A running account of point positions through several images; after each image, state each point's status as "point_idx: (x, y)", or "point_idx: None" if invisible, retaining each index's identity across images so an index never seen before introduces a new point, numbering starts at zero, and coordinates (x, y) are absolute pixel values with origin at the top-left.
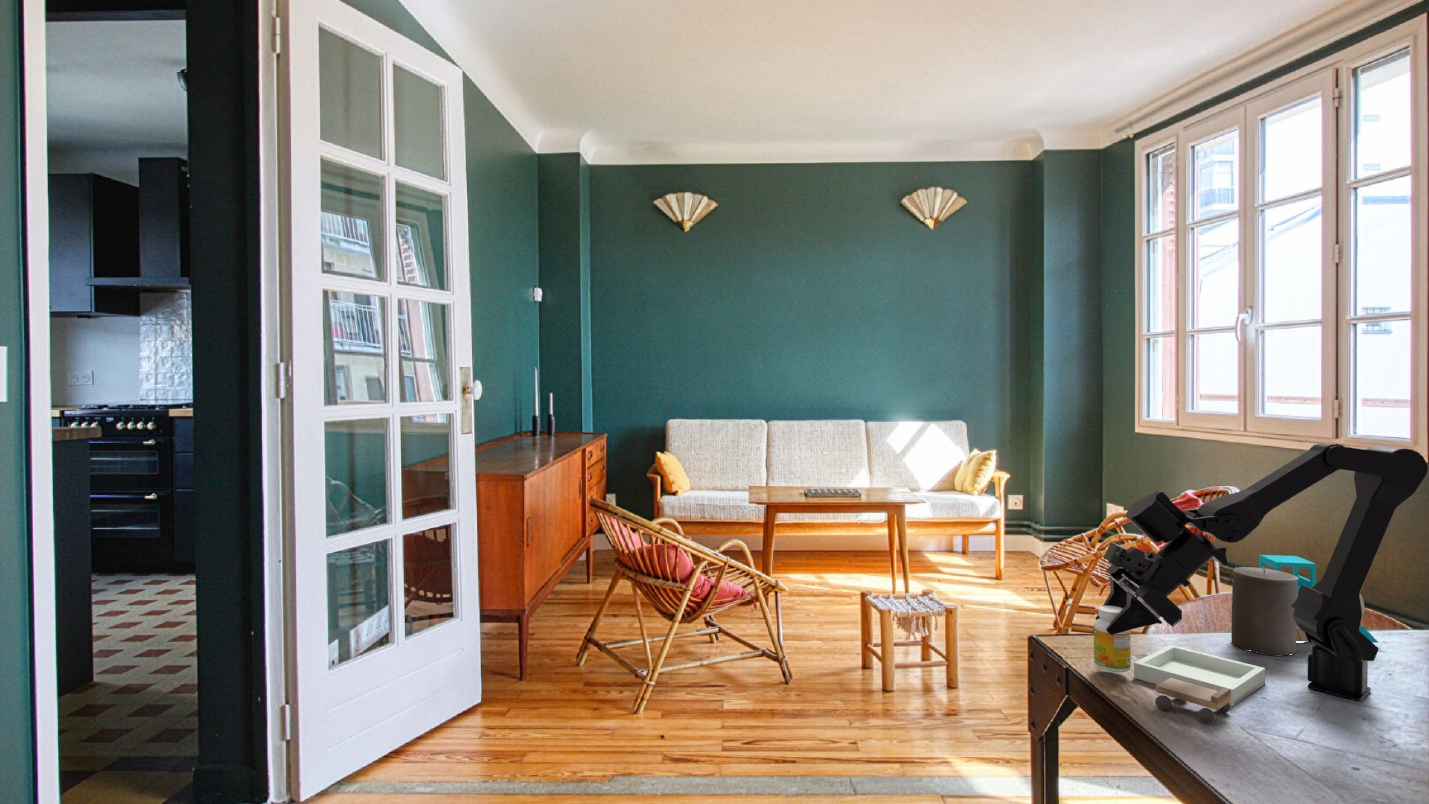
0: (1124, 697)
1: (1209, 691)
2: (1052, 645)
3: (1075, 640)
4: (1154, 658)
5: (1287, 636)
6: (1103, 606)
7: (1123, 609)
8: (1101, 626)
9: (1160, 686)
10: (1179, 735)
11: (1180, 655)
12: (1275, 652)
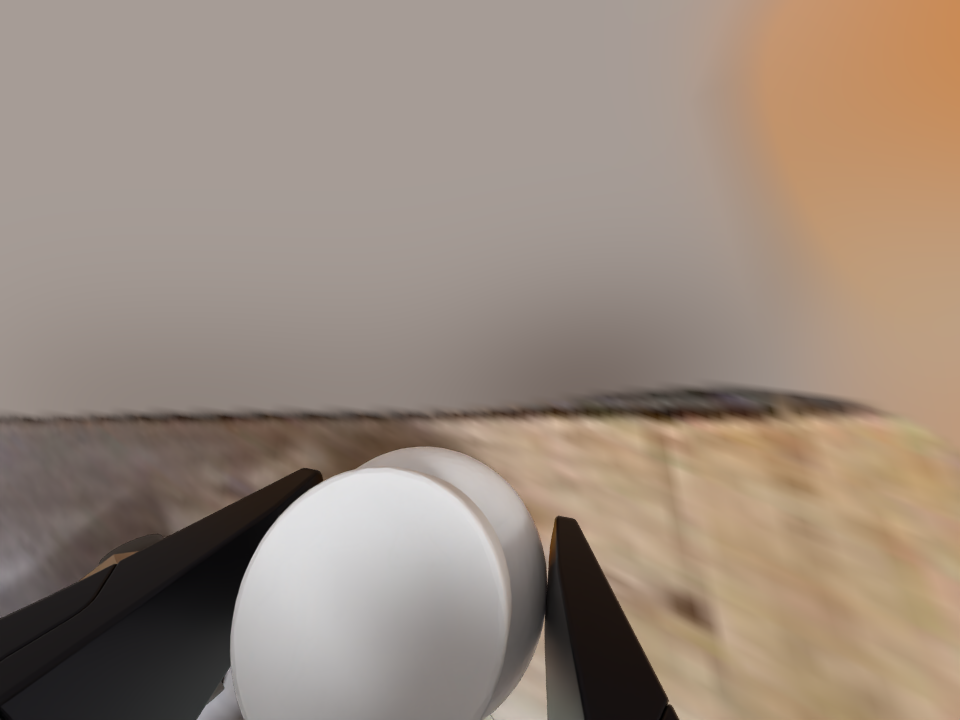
0: (269, 473)
1: None
2: (818, 440)
3: (956, 599)
4: None
5: None
6: (464, 559)
7: (51, 633)
8: (367, 462)
9: (100, 568)
10: (18, 495)
11: None
12: None
